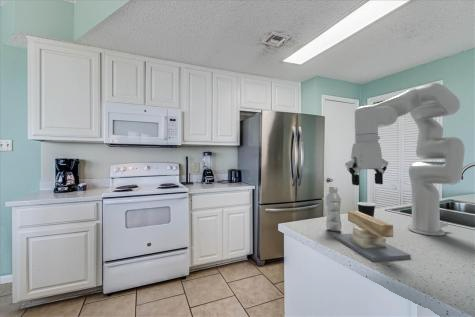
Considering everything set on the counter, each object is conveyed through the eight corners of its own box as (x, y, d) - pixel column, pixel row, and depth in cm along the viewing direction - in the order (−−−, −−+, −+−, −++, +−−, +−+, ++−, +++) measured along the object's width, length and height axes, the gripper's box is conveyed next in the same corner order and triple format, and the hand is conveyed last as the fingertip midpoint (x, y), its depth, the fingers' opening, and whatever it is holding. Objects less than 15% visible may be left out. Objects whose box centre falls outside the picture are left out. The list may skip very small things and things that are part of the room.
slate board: (363, 235, 95) (363, 232, 95) (410, 258, 73) (410, 254, 73) (333, 237, 93) (333, 234, 93) (372, 261, 71) (372, 257, 71)
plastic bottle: (343, 233, 97) (342, 188, 97) (327, 232, 99) (326, 188, 99) (339, 228, 104) (339, 186, 104) (324, 228, 105) (324, 186, 105)
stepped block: (371, 239, 87) (371, 224, 87) (385, 246, 80) (385, 229, 80) (350, 240, 86) (350, 225, 86) (363, 248, 79) (363, 231, 79)
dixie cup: (378, 228, 103) (378, 205, 103) (360, 227, 105) (360, 205, 105) (371, 223, 111) (371, 202, 111) (354, 223, 113) (354, 201, 113)
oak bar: (356, 220, 93) (356, 210, 93) (393, 237, 73) (393, 225, 73) (347, 220, 92) (347, 211, 92) (381, 237, 72) (381, 225, 73)
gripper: (379, 140, 88) (379, 182, 88) (339, 140, 85) (340, 184, 85) (395, 138, 80) (396, 184, 80) (352, 138, 78) (353, 186, 78)
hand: (367, 184), depth 83 cm, fingers open, 9 cm apart
